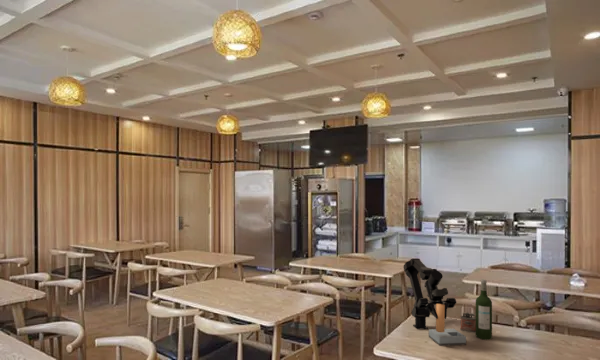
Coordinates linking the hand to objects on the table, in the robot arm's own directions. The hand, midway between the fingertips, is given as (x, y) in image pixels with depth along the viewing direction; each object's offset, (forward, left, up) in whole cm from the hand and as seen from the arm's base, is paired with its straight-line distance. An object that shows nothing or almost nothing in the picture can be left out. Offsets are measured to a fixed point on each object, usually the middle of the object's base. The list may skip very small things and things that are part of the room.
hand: (441, 318), depth 203 cm
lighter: (-20, +25, -14) cm, 35 cm away
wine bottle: (-10, +28, -14) cm, 33 cm away
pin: (-1, 0, -7) cm, 7 cm away
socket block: (-7, +6, -13) cm, 16 cm away
